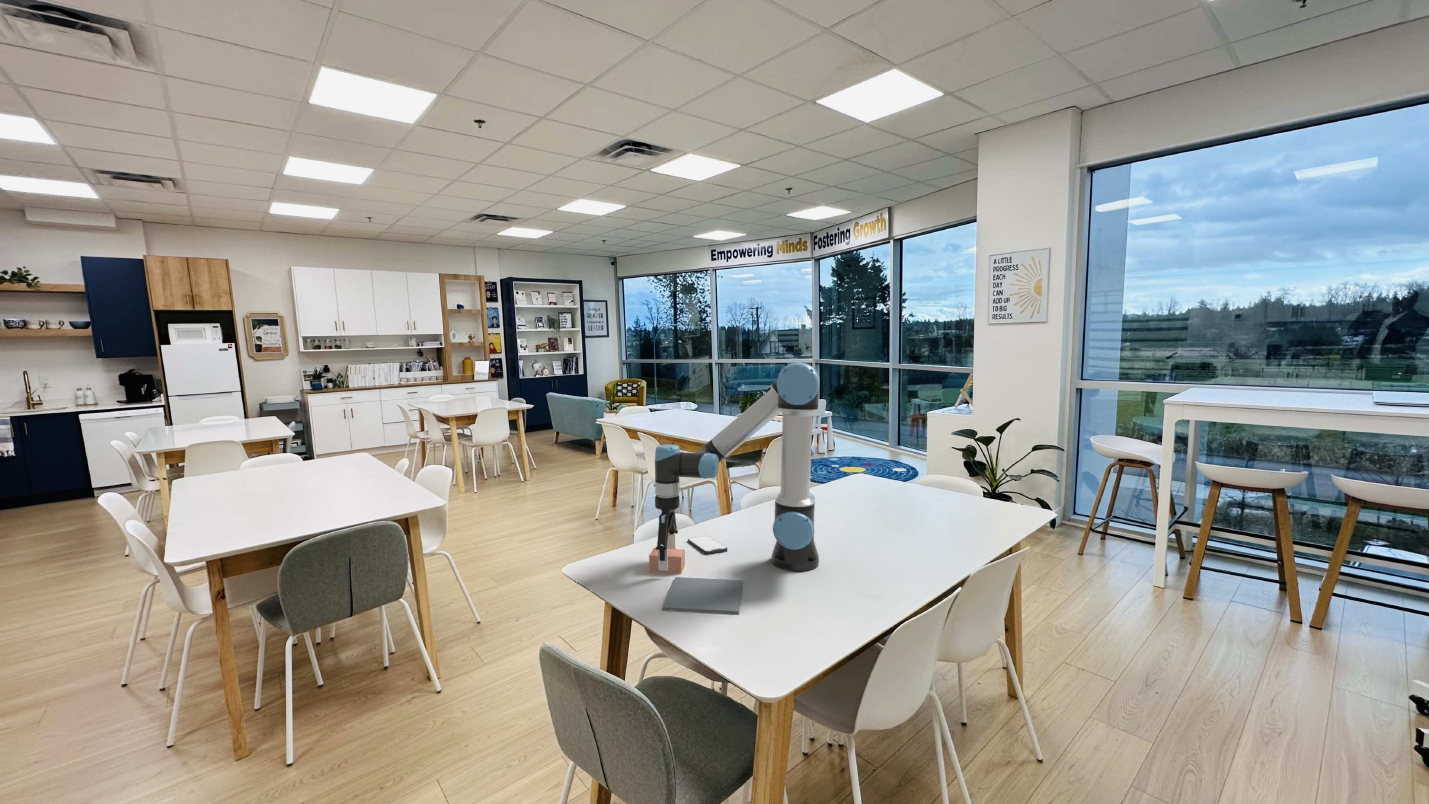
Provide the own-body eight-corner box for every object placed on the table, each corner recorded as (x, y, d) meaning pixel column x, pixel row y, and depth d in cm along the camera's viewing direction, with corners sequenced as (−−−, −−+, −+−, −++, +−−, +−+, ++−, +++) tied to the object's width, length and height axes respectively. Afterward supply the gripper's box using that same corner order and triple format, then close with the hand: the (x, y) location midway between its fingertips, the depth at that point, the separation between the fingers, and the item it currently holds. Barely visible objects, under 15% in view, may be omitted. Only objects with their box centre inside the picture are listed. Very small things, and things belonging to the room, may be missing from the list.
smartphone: (686, 542, 200) (705, 556, 186) (686, 538, 200) (705, 551, 186) (708, 539, 204) (729, 552, 190) (708, 535, 204) (729, 548, 189)
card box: (684, 566, 176) (684, 549, 176) (681, 574, 170) (681, 556, 170) (653, 564, 178) (653, 548, 177) (649, 572, 171) (649, 555, 171)
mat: (742, 582, 163) (742, 580, 163) (738, 614, 144) (738, 611, 144) (675, 579, 165) (675, 577, 165) (662, 610, 146) (662, 607, 146)
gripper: (663, 485, 185) (663, 547, 186) (646, 505, 160) (646, 576, 162) (685, 485, 184) (685, 548, 186) (672, 506, 159) (672, 578, 161)
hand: (667, 561), depth 174 cm, fingers open, 13 cm apart
